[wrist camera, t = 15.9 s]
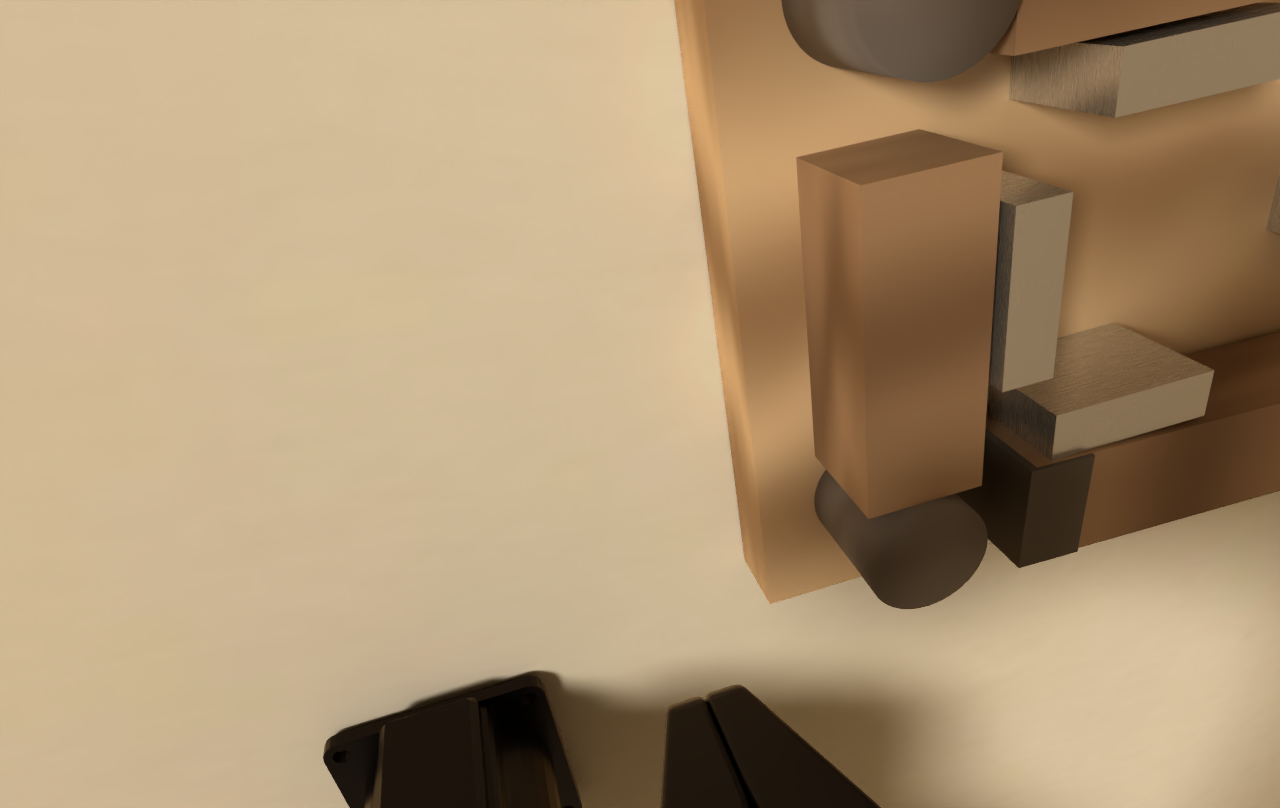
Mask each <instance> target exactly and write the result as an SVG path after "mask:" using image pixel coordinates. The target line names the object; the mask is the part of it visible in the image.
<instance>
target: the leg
mask: <svg viewBox="0 0 1280 808" xmlns="http://www.w3.org/2000/svg"><path fill="white" fill-rule="evenodd" d="M1185 357H1188V358H1190V359H1192V360H1194V361H1196V362H1198V363H1200V364H1202V365H1204V366H1207V367H1209V368H1211V369H1213V370H1214V374H1213V379H1212V383H1211V388H1210V392H1209V397H1208V401H1207V406H1206V410H1205V415H1204V416H1201V417H1197V418H1194V419H1191V420H1187V421H1184V422H1181V423H1177V424H1174V425H1170V426H1167V427H1164V428H1160V429H1157V430H1154V431H1150V432H1147V433H1143V434H1140V435H1137V436H1133V437H1130V438H1127V439H1123V440H1120V441H1117V442H1113V443H1110V444H1106V445H1103V446H1100V447H1096V448H1093V449H1090V450H1086V451H1083V452H1079V453H1076V454H1073V455H1069V456H1066V457H1063V458H1059V459H1056V460H1052V461H1051V460H1050V459H1049V458H1047V457H1046V456H1045V455H1043V454H1042V453H1040V452H1039V451H1038V450H1036V449H1035V448H1034V447H1032V446H1031V445H1030V444H1028V443H1027V442H1026V441H1024V440H1023V439H1022V438H1020V437H1019V436H1018V435H1016V434H1015V433H1014V432H1012V431H1011V430H1009V429H1008V428H1007V427H1005V426H1004V425H1003V424H1001V423H1000V422H999V421H997V420H996V419H995V418H993V417H992V416H991V415H989V414H988V413H987V412H986V428H985V443H984V459H983V474H982V486H979V487H976V488H972V489H969V490H965V491H962V492H959V493H956V494H957V495H958V496H959V497H960V498H962V499H963V500H964V501H965V502H966V503H967V504H968V505H969V506H970V507H971V508H972V509H973V510H974V511H975V512H976V513H978V515H979V516H980V517H981V518H982V520H983V521H984V523H985V526H986V528H987V537H988V539H989V540H990V541H991V542H992V543H993V544H994V545H995V546H996V547H997V548H998V549H999V550H1001V551H1002V552H1003V553H1004V554H1005V555H1006V556H1007V557H1008V558H1009V559H1010V560H1011V561H1012V562H1013V563H1014V564H1015V565H1016V566H1017V567H1018V568H1021V567H1024V566H1028V565H1031V564H1035V563H1038V562H1042V561H1046V560H1049V559H1053V558H1056V557H1060V556H1063V555H1067V554H1070V553H1074V552H1077V551H1078V548H1079V547H1083V546H1087V545H1090V544H1094V543H1097V542H1101V541H1104V540H1108V539H1111V538H1115V537H1118V536H1122V535H1125V534H1129V533H1132V532H1136V531H1139V530H1143V529H1146V528H1150V527H1153V526H1157V525H1160V524H1164V523H1167V522H1171V521H1174V520H1178V519H1182V518H1185V517H1189V516H1192V515H1196V514H1199V513H1203V512H1206V511H1210V510H1213V509H1217V508H1220V507H1224V506H1227V505H1231V504H1234V503H1238V502H1241V501H1245V500H1248V499H1252V498H1255V497H1259V496H1262V495H1266V494H1269V493H1273V492H1277V491H1280V332H1278V333H1274V334H1270V335H1266V336H1262V337H1258V338H1254V339H1250V340H1246V341H1242V342H1238V343H1234V344H1230V345H1226V346H1222V347H1218V348H1214V349H1210V350H1206V351H1202V352H1198V353H1194V354H1190V355H1186V356H1185Z"/></svg>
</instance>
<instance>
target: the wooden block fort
mask: <svg viewBox="0 0 1280 808" xmlns="http://www.w3.org/2000/svg"><path fill="white" fill-rule="evenodd" d="M1254 3H1280V0H675V8H676V16H677V24H678V32H679V40H680V48H681V56H682V64H683V72H684V80H685V88H686V96H687V103H688V111H689V119H690V127H691V135H692V143H693V151H694V159H695V167H696V175H697V183H698V191H699V199H700V207H701V215H702V223H703V231H704V239H705V247H706V255H707V263H708V271H709V279H710V287H711V295H712V302H713V310H714V318H715V326H716V334H717V342H718V350H719V358H720V366H721V374H722V382H723V390H724V398H725V406H726V414H727V422H728V430H729V438H730V446H731V454H732V462H733V470H734V478H735V486H736V494H737V501H738V509H739V517H740V525H741V533H742V541H743V549H744V557H745V561H746V563H747V564H748V566H749V568H750V570H751V571H752V573H753V575H754V577H755V579H756V580H757V582H758V584H759V586H760V587H761V589H762V591H763V593H764V594H765V596H766V598H767V600H768V601H769V603H770V604H772V603H775V602H778V601H782V600H785V599H788V598H791V597H795V596H798V595H801V594H804V593H808V592H811V591H814V590H817V589H821V588H824V587H827V586H830V585H834V584H837V583H840V582H843V581H847V580H850V579H853V578H856V577H860V576H862V577H863V578H864V580H865V581H866V582H867V584H868V585H869V586H870V588H871V589H872V590H873V592H874V593H875V594H876V596H877V597H878V598H879V599H880V600H881V601H882V602H884V603H885V604H887V605H889V606H892V607H895V608H900V609H915V608H921V607H925V606H929V605H931V604H934V603H936V602H939V601H941V600H943V599H945V598H946V597H948V596H950V595H951V594H953V593H954V592H955V591H957V590H958V589H959V588H960V587H962V586H963V585H964V584H965V583H966V582H967V581H968V580H969V579H970V577H971V576H972V575H973V574H974V572H975V571H976V570H977V568H978V567H979V565H980V563H981V561H982V559H983V557H984V554H985V551H986V547H987V541H988V537H987V528H986V526H985V523H984V521H983V520H982V518H981V517H980V516H979V515H978V513H976V512H975V511H974V510H973V509H972V508H971V507H970V506H969V505H968V504H967V503H966V502H965V501H964V500H963V499H962V498H960V497H959V496H958V495H957V494H956V493H959V492H962V491H965V490H969V489H972V488H976V487H979V486H982V474H983V459H984V443H985V428H986V412H987V396H988V381H989V365H990V349H991V334H992V318H993V303H994V287H995V271H996V256H997V240H998V224H999V209H1000V193H1001V178H1002V170H1003V171H1006V172H1010V173H1013V174H1016V175H1020V176H1023V177H1026V178H1030V179H1033V180H1036V181H1039V182H1043V183H1046V184H1049V185H1053V186H1056V187H1059V188H1062V189H1066V190H1069V191H1072V192H1073V201H1072V210H1071V219H1070V228H1069V237H1068V246H1067V255H1066V265H1065V274H1064V283H1063V292H1062V301H1061V310H1060V319H1059V328H1058V337H1057V338H1059V337H1063V336H1067V335H1070V334H1074V333H1077V332H1081V331H1085V330H1088V329H1092V328H1096V327H1099V326H1103V325H1107V324H1110V323H1116V324H1118V325H1120V326H1122V327H1124V328H1127V329H1129V330H1131V331H1133V332H1135V333H1137V334H1139V335H1141V336H1143V337H1146V338H1148V339H1150V340H1152V341H1154V342H1156V343H1158V344H1160V345H1162V346H1164V347H1167V348H1169V349H1171V350H1173V351H1175V352H1177V353H1179V354H1181V355H1183V356H1186V355H1190V354H1194V353H1198V352H1202V351H1206V350H1210V349H1214V348H1218V347H1222V346H1226V345H1230V344H1234V343H1238V342H1242V341H1246V340H1250V339H1254V338H1258V337H1262V336H1266V335H1270V334H1274V333H1278V332H1280V234H1279V233H1276V232H1272V231H1269V230H1266V228H1267V224H1268V220H1269V215H1270V211H1271V207H1272V203H1273V198H1274V194H1275V190H1276V186H1277V181H1278V177H1279V173H1280V79H1278V80H1274V81H1270V82H1265V83H1261V84H1257V85H1253V86H1248V87H1244V88H1240V89H1236V90H1231V91H1227V92H1223V93H1219V94H1214V95H1210V96H1206V97H1202V98H1197V99H1193V100H1189V101H1185V102H1180V103H1176V104H1172V105H1168V106H1163V107H1159V108H1155V109H1151V110H1146V111H1142V112H1138V113H1134V114H1129V115H1125V116H1121V117H1117V118H1113V117H1107V116H1101V115H1096V114H1090V113H1085V112H1079V111H1073V110H1068V109H1062V108H1057V107H1051V106H1045V105H1040V104H1034V103H1029V102H1023V101H1017V100H1012V99H1009V90H1010V75H1011V59H1012V56H1017V55H1021V54H1026V53H1030V52H1035V51H1039V50H1044V49H1048V48H1053V47H1058V46H1062V45H1067V44H1071V43H1076V42H1080V41H1085V40H1089V39H1094V38H1099V37H1103V36H1108V35H1112V34H1117V33H1121V32H1126V31H1131V30H1135V29H1140V28H1144V27H1149V26H1153V25H1158V24H1162V23H1167V22H1172V21H1176V20H1181V19H1185V18H1190V17H1194V16H1199V15H1203V14H1208V13H1213V12H1217V11H1222V10H1226V9H1231V8H1235V7H1240V6H1244V5H1249V4H1254Z"/></svg>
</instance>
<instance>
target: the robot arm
mask: <svg viewBox="0 0 1280 808" xmlns="http://www.w3.org/2000/svg"><path fill="white" fill-rule="evenodd" d="M528 692H533V693H531V694H527V695H524V694H525V693H528ZM342 750H345V751H342ZM341 751H342V752H341ZM323 759H324V763H325V764H326V766H327V768H328V770H329V772H330V773H331V775H332V777H333V779H334V780H335V782H336V784H337V786H338V788H339V789H340V791H341V793H342V795H343V796H344V798H345V800H346V802H347V804H348V805H349V807H350V808H582V804H581V799H580V795H579V792H578V788H577V785H576V782H575V779H574V776H573V773H572V770H571V767H570V764H569V761H568V757H567V754H566V751H565V748H564V745H563V742H562V739H561V736H560V733H559V730H558V726H557V723H556V720H555V717H554V714H553V711H552V708H551V705H550V702H549V699H548V695H547V692H546V689H545V686H544V683H543V682H542V680H541V679H539V678H538V677H535V676H526V677H522V678H518V679H515V680H512V681H509V682H505V683H502V684H499V685H496V686H492V687H489V688H486V689H483V690H479V691H476V692H473V693H469V694H466V695H463V696H460V697H456V698H453V699H450V700H447V701H443V702H440V703H437V704H434V705H430V706H427V707H424V708H421V709H417V710H414V711H411V712H408V713H404V714H401V715H398V716H394V717H391V718H388V719H385V720H381V721H378V722H375V723H372V724H368V725H365V726H362V727H359V728H355V729H352V730H349V731H346V732H342V733H339V734H336V735H334V736H332V737H330V738H329V739H328V740H327V741H326V744H325V748H324V755H323ZM661 808H881V807H880V806H879V805H878V804H876V803H875V802H874V801H873V800H872V799H871V798H870V797H869V796H867V795H866V794H865V793H864V792H863V791H862V790H861V789H859V788H858V787H857V786H856V785H855V784H854V783H853V782H852V781H850V780H849V779H848V778H847V777H846V776H845V775H844V774H842V773H841V772H840V771H839V770H838V769H837V768H836V767H835V766H833V765H832V764H831V763H830V762H829V761H828V760H827V759H825V758H824V757H823V756H822V755H821V754H820V753H819V752H818V751H816V750H815V749H814V748H813V747H812V746H811V745H810V744H809V743H807V742H806V741H805V740H804V739H803V738H802V737H801V736H799V735H798V734H797V733H796V732H795V731H794V730H793V729H792V728H790V727H789V726H788V725H787V724H786V723H785V722H784V721H782V720H781V719H780V718H779V717H778V716H777V715H776V714H775V713H773V712H772V711H771V710H770V709H769V708H768V707H767V706H765V705H764V704H763V703H762V702H761V701H760V700H759V699H758V698H756V697H755V696H754V695H753V694H752V693H751V692H750V691H748V690H747V689H746V688H745V687H743V686H741V685H732V686H729V687H726V688H723V689H720V690H717V691H714V692H711V693H709V694H708V695H707V696H706V698H705V700H704V699H703V698H701V697H695V698H692V699H689V700H686V701H683V702H679V703H676V704H673V705H671V706H670V707H669V708H668V709H667V713H666V726H665V743H664V761H663V778H662V796H661Z"/></svg>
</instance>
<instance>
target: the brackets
mask: <svg viewBox="0 0 1280 808" xmlns="http://www.w3.org/2000/svg"><path fill="white" fill-rule="evenodd" d="M1278 79H1280V3H1254V4H1249V5H1244V6H1240V7H1235V8H1231V9H1226V10H1222V11H1217V12H1213V13H1208V14H1203V15H1199V16H1194V17H1190V18H1185V19H1181V20H1176V21H1172V22H1167V23H1162V24H1158V25H1153V26H1149V27H1144V28H1140V29H1135V30H1131V31H1126V32H1121V33H1117V34H1112V35H1108V36H1103V37H1099V38H1094V39H1089V40H1085V41H1080V42H1076V43H1071V44H1067V45H1062V46H1058V47H1053V48H1048V49H1044V50H1039V51H1035V52H1030V53H1026V54H1021V55H1017V56H1012V59H1011V75H1010V90H1009V99H1012V100H1017V101H1023V102H1029V103H1034V104H1040V105H1045V106H1051V107H1057V108H1062V109H1068V110H1073V111H1079V112H1085V113H1090V114H1096V115H1101V116H1107V117H1113V118H1117V117H1121V116H1125V115H1129V114H1134V113H1138V112H1142V111H1146V110H1151V109H1155V108H1159V107H1163V106H1168V105H1172V104H1176V103H1180V102H1185V101H1189V100H1193V99H1197V98H1202V97H1206V96H1210V95H1214V94H1219V93H1223V92H1227V91H1231V90H1236V89H1240V88H1244V87H1248V86H1253V85H1257V84H1261V83H1265V82H1270V81H1274V80H1278ZM1072 201H1073V192H1072V191H1069V190H1066V189H1062V188H1059V187H1056V186H1053V185H1049V184H1046V183H1043V182H1039V181H1036V180H1033V179H1030V178H1026V177H1023V176H1020V175H1016V174H1013V173H1010V172H1006V171H1003V170H1002V178H1001V193H1000V209H999V224H998V240H997V256H996V271H995V287H994V303H993V318H992V334H991V349H990V365H989V381H988V396H987V413H988V414H989V415H991V416H992V417H993V418H995V419H996V420H997V421H999V422H1000V423H1001V424H1003V425H1004V426H1005V427H1007V428H1008V429H1009V430H1011V431H1012V432H1014V433H1015V434H1016V435H1018V436H1019V437H1020V438H1022V439H1023V440H1024V441H1026V442H1027V443H1028V444H1030V445H1031V446H1032V447H1034V448H1035V449H1036V450H1038V451H1039V452H1040V453H1042V454H1043V455H1045V456H1046V457H1047V458H1049V459H1050V460H1051V461H1052V460H1056V459H1059V458H1063V457H1066V456H1069V455H1073V454H1076V453H1079V452H1083V451H1086V450H1090V449H1093V448H1096V447H1100V446H1103V445H1106V444H1110V443H1113V442H1117V441H1120V440H1123V439H1127V438H1130V437H1133V436H1137V435H1140V434H1143V433H1147V432H1150V431H1154V430H1157V429H1160V428H1164V427H1167V426H1170V425H1174V424H1177V423H1181V422H1184V421H1187V420H1191V419H1194V418H1197V417H1201V416H1204V415H1205V410H1206V406H1207V401H1208V397H1209V392H1210V388H1211V383H1212V379H1213V374H1214V370H1213V369H1211V368H1209V367H1207V366H1204V365H1202V364H1200V363H1198V362H1196V361H1194V360H1192V359H1190V358H1188V357H1185V356H1183V355H1181V354H1179V353H1177V352H1175V351H1173V350H1171V349H1169V348H1167V347H1164V346H1162V345H1160V344H1158V343H1156V342H1154V341H1152V340H1150V339H1148V338H1146V337H1143V336H1141V335H1139V334H1137V333H1135V332H1133V331H1131V330H1129V329H1127V328H1124V327H1122V326H1120V325H1118V324H1116V323H1110V324H1107V325H1103V326H1099V327H1096V328H1092V329H1088V330H1085V331H1081V332H1077V333H1074V334H1070V335H1067V336H1063V337H1059V338H1057V337H1058V328H1059V319H1060V310H1061V301H1062V292H1063V283H1064V274H1065V265H1066V255H1067V246H1068V237H1069V228H1070V219H1071V210H1072ZM1266 230H1269V231H1272V232H1276V233H1279V234H1280V173H1279V177H1278V181H1277V186H1276V190H1275V194H1274V198H1273V203H1272V207H1271V211H1270V215H1269V220H1268V224H1267V228H1266Z"/></svg>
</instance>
